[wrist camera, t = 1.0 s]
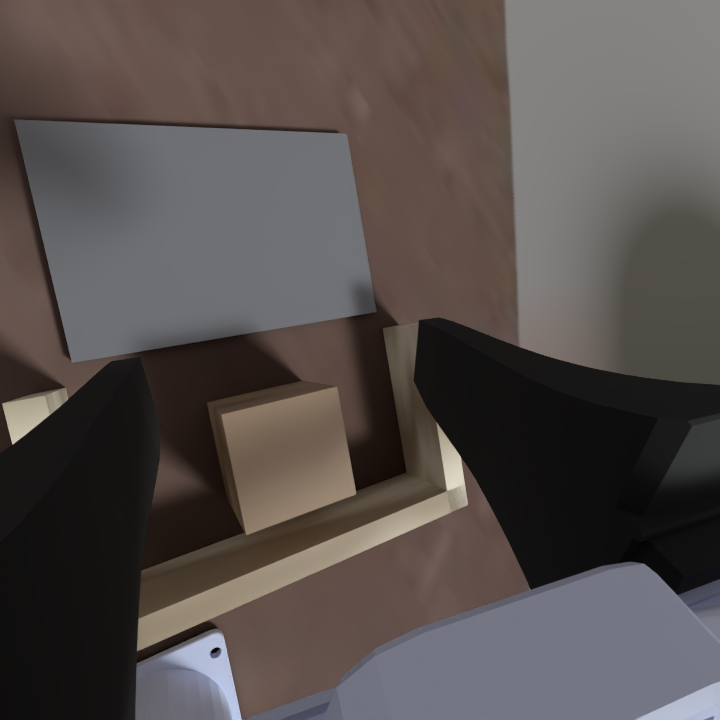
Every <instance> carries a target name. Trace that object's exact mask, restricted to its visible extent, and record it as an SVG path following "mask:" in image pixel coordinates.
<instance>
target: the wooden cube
mask: <svg viewBox="0 0 720 720" xmlns="http://www.w3.org/2000/svg"><path fill="white" fill-rule="evenodd" d="M207 406H208V411H209V416H210V421H211V425H212V430H213V435H214V440H215V445H216V449H217V454H218V459H219V464H220V468H221V473H222V478H223V483H224V488H225V492H226V497H227V500H228V502H229V504H230V506H231V507H232V509H233V511H234V513H235V515H236V517H237V519H238V521H239V523H240V525H241V526H242V528H243V530H244V532H245V534H246V535H248V534H251V533H254V532H257V531H259V530H262V529H265V528H267V527H270V526H273V525H275V524H278V523H281V522H283V521H286V520H289V519H291V518H294V517H297V516H299V515H302V514H305V513H307V512H310V511H313V510H316V509H318V508H321V507H324V506H326V505H329V504H332V503H334V502H337V501H340V500H342V499H345V498H348V497H350V496H353V495H356V489H355V484H354V478H353V472H352V467H351V461H350V456H349V450H348V445H347V439H346V433H345V428H344V422H343V417H342V411H341V405H340V400H339V394H338V389H337V386H331V385H325V384H319V383H313V382H307V381H298V382H294V383H289V384H285V385H281V386H276V387H272V388H267V389H263V390H259V391H254V392H250V393H245V394H241V395H237V396H232V397H228V398H224V399H219V400H215V401H210V402H207Z"/></svg>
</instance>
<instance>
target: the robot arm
mask: <svg viewBox="0 0 720 720" xmlns="http://www.w3.org/2000/svg"><path fill="white" fill-rule="evenodd" d="M413 381H414V383H415V385H416V387H417V389H418V391H419V394H420V396H421V398H422V400H423V402H424V403H425V405H426V407H427V409H428V410H429V412H430V413H431V415H432V416H433V418H434V419H435V421H436V422H437V424H438V425H439V427H440V428H441V429H442V431H443V432H444V434H445V435H446V437H447V438H448V439H449V441H450V442H451V444H452V445H453V446H454V448H455V449H456V451H457V452H458V453H459V455H460V456H461V458H462V459H463V461H464V462H465V463H466V465H467V466H468V468H469V469H470V471H471V473H472V474H473V476H474V477H475V479H476V481H477V482H478V484H479V486H480V488H481V490H482V492H483V493H484V495H485V497H486V499H487V501H488V502H489V504H490V506H491V508H492V510H493V512H494V514H495V516H496V518H497V520H498V522H499V524H500V526H501V527H502V529H503V531H504V533H505V535H506V537H507V539H508V541H509V543H510V546H511V548H512V550H513V552H514V554H515V556H516V558H517V560H518V563H519V565H520V567H521V569H522V571H523V573H524V575H525V577H526V580H527V582H528V584H529V587H530V589H531V590H529V591H526V592H523V593H520V594H517V595H514V596H511V597H508V598H505V599H502V600H499V601H496V602H493V603H490V604H487V605H484V606H481V607H478V608H475V609H472V610H469V611H466V612H463V613H460V614H457V615H454V616H451V617H448V618H445V619H442V620H439V621H436V622H434V623H431V624H428V625H425V626H422V627H419V628H417V629H415V630H413V631H410V632H408V633H406V634H404V635H402V636H400V637H398V638H396V639H394V640H392V641H389V642H387V643H385V644H383V645H381V646H379V647H377V648H375V649H374V650H373V651H371V652H370V653H369V654H368V655H367V656H365V657H364V658H363V659H362V660H361V661H359V662H358V663H357V664H356V665H355V666H353V667H352V668H351V669H350V670H349V671H347V672H346V673H345V674H344V675H343V676H342V678H341V680H340V682H339V684H338V686H336V687H333V688H330V689H327V690H325V691H322V692H319V693H316V694H313V695H310V696H308V697H305V698H302V699H299V700H296V701H294V702H291V703H288V704H285V705H282V706H279V707H277V708H274V709H271V710H268V711H265V712H262V713H260V714H257V715H254V716H251V717H248V718H246V719H243V720H720V385H712V384H698V383H684V382H675V381H667V380H659V379H650V378H643V377H636V376H631V375H624V374H619V373H614V372H608V371H603V370H598V369H593V368H589V367H585V366H580V365H577V364H573V363H569V362H565V361H562V360H557V359H554V358H551V357H547V356H544V355H541V354H538V353H535V352H532V351H529V350H526V349H523V348H520V347H517V346H515V345H512V344H509V343H507V342H504V341H501V340H499V339H496V338H494V337H491V336H489V335H486V334H484V333H481V332H479V331H476V330H474V329H471V328H469V327H466V326H463V325H461V324H458V323H455V322H453V321H450V320H446V319H443V318H432V319H425V320H419V326H418V337H417V348H416V358H415V369H414V380H413ZM160 425H161V424H160V421H159V418H158V414H157V411H156V408H155V405H154V401H153V398H152V395H151V392H150V388H149V385H148V382H147V379H146V375H145V372H144V369H143V366H142V362H141V359H140V357H139V358H132V359H124V360H117V361H111V362H110V363H109V364H107V365H106V366H105V367H104V368H102V369H101V370H100V371H99V372H98V373H97V374H96V375H95V376H93V377H92V378H91V379H90V380H89V381H88V382H87V383H86V384H85V385H84V386H83V387H81V388H80V389H79V390H78V391H77V392H76V393H75V394H74V395H72V396H71V397H70V398H69V399H68V400H67V401H66V402H65V403H63V404H62V405H61V406H60V407H59V408H58V409H57V410H55V411H54V412H53V413H52V414H50V415H49V416H48V417H47V418H46V419H44V420H43V421H42V422H41V423H39V424H38V425H37V426H36V427H34V428H33V429H32V430H31V431H29V432H28V433H27V434H26V435H25V436H23V437H22V438H21V439H19V440H18V441H17V442H15V443H14V444H13V445H11V446H10V447H9V448H7V449H6V450H4V451H3V452H2V453H0V720H242V719H241V714H240V710H239V705H238V700H237V696H236V691H235V687H234V682H233V677H232V673H231V668H230V663H229V659H228V654H227V650H226V645H225V640H224V636H223V633H222V631H221V630H219V629H212V630H209V631H207V632H205V633H202V634H200V635H198V636H196V637H194V638H191V639H189V640H187V641H185V642H183V643H180V644H178V645H176V646H174V647H172V648H169V649H167V650H165V651H163V652H161V653H158V654H156V655H154V656H152V657H150V658H147V659H145V660H143V661H141V662H139V663H137V641H138V620H139V600H140V585H141V570H142V558H143V551H144V543H145V537H146V532H147V526H148V521H149V516H150V510H151V505H152V499H153V494H154V488H155V483H156V477H157V471H158V466H159V460H160ZM216 647H219V648H220V649H219V650H218V651H217V652H216V653H210V652H211V650H212V649H214V648H216Z"/></svg>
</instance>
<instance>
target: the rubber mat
mask: <svg viewBox="0 0 720 720" xmlns="http://www.w3.org/2000/svg"><path fill="white" fill-rule="evenodd" d="M14 121H15V125H16V130H17V134H18V138H19V142H20V146H21V151H22V155H23V159H24V163H25V168H26V172H27V176H28V180H29V184H30V189H31V193H32V197H33V201H34V205H35V210H36V214H37V218H38V222H39V226H40V231H41V235H42V239H43V243H44V248H45V252H46V256H47V260H48V264H49V269H50V273H51V277H52V281H53V285H54V290H55V294H56V298H57V302H58V306H59V311H60V315H61V319H62V323H63V328H64V332H65V336H66V340H67V344H68V349H69V353H70V357H71V361H72V363H75V362H81V361H87V360H93V359H99V358H105V357H111V356H117V355H123V354H129V353H135V352H141V351H147V350H153V349H159V348H165V347H171V346H177V345H183V344H189V343H195V342H201V341H207V340H213V339H219V338H225V337H231V336H237V335H243V334H249V333H255V332H261V331H267V330H273V329H279V328H284V327H290V326H296V325H302V324H308V323H314V322H320V321H326V320H332V319H338V318H344V317H350V316H356V315H362V314H368V313H374V312H376V306H375V300H374V294H373V288H372V282H371V276H370V270H369V264H368V258H367V252H366V246H365V240H364V234H363V228H362V222H361V216H360V210H359V204H358V198H357V192H356V186H355V180H354V174H353V168H352V162H351V156H350V150H349V144H348V138H347V134H341V133H318V132H294V131H271V130H248V129H224V128H201V127H177V126H154V125H131V124H107V123H84V122H61V121H37V120H14Z"/></svg>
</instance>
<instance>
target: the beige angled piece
mask: <svg viewBox="0 0 720 720" xmlns="http://www.w3.org/2000/svg"><path fill="white" fill-rule="evenodd" d="M418 326H419V323H412V324H404V325H397V326H392V327H386V328H383V334H384V340H385V346H386V352H387V358H388V364H389V370H390V376H391V382H392V388H393V394H394V400H395V406H396V412H397V418H398V424H399V430H400V436H401V442H402V448H403V454H404V460H405V466H406V473H404V474H401V475H398V476H396V477H393V478H390V479H388V480H385V481H382V482H379V483H377V484H374V485H371V486H369V487H366V488H363V489H361V490H358V491H356V495H353V496H350V497H348V498H345V499H342V500H340V501H337V502H334V503H332V504H329V505H326V506H324V507H321V508H318V509H316V510H313V511H310V512H307V513H305V514H302V515H299V516H297V517H294V518H291V519H289V520H286V521H283V522H281V523H278V524H275V525H273V526H270V527H267V528H265V529H262V530H259V531H257V532H254V533H251V534H248V535H246V534H245V532H244V533H242V534H239V535H236V536H234V537H231V538H228V539H225V540H223V541H220V542H217V543H215V544H212V545H209V546H207V547H204V548H201V549H198V550H196V551H193V552H190V553H188V554H185V555H182V556H180V557H177V558H174V559H171V560H169V561H166V562H163V563H161V564H158V565H155V566H153V567H150V568H147V569H144V570H142V571H141V585H140V600H139V620H138V641H137V651H139V650H142V649H144V648H146V647H148V646H151V645H153V644H155V643H157V642H160V641H162V640H164V639H166V638H169V637H171V636H173V635H175V634H178V633H180V632H182V631H184V630H187V629H189V628H191V627H193V626H196V625H198V624H200V623H202V622H205V621H207V620H209V619H211V618H214V617H216V616H218V615H220V614H223V613H225V612H227V611H230V610H232V609H234V608H236V607H239V606H241V605H243V604H245V603H248V602H250V601H252V600H254V599H257V598H259V597H261V596H263V595H266V594H268V593H270V592H272V591H275V590H277V589H279V588H281V587H284V586H286V585H288V584H290V583H293V582H295V581H297V580H299V579H302V578H304V577H306V576H308V575H311V574H313V573H315V572H317V571H320V570H322V569H324V568H327V567H329V566H331V565H333V564H336V563H338V562H340V561H342V560H345V559H347V558H349V557H351V556H354V555H356V554H358V553H360V552H363V551H365V550H367V549H369V548H372V547H374V546H376V545H378V544H381V543H383V542H385V541H387V540H390V539H392V538H394V537H396V536H399V535H401V534H403V533H405V532H408V531H410V530H412V529H415V528H417V527H419V526H421V525H424V524H426V523H428V522H430V521H433V520H435V519H437V518H439V517H442V516H444V515H446V514H448V513H451V512H453V511H455V510H457V509H460V508H462V507H464V506H466V505H468V502H467V496H466V489H465V483H464V476H463V470H462V463H461V456H460V455H459V453H458V452H457V451H456V449H455V448H454V446H453V445H452V444H451V442H450V441H449V439H448V438H447V437H446V435H445V434H444V432H443V431H442V429H441V428H440V427H439V425H438V424H437V422H436V421H435V419H434V418H433V416H432V415H431V413H430V412H429V410H428V409H427V407H426V405H425V403H424V402H423V400H422V398H421V396H420V394H419V391H418V389H417V387H416V385H415V383H414V381H413V380H414V369H415V358H416V348H417V337H418ZM67 400H68V395H67V391H66V388H61V389H55V390H50V391H45V392H39V393H34V394H30V395H27V396H24V397H21V398H18V399H15V400H12V401H9V402H5V403H2V405H3V409H4V413H5V417H6V421H7V425H8V429H9V433H10V437H11V441H12V445H13V444H14V443H15V442H17V441H18V440H19V439H21V438H22V437H23V436H25V435H26V434H27V433H28V432H29V431H31V430H32V429H33V428H34V427H36V426H37V425H38V424H39V423H41V422H42V421H43V420H44V419H46V418H47V417H48V416H49V415H50V414H52V413H53V412H54V411H55V410H57V409H58V408H59V407H60V406H61V405H62V404H63V403H65V402H66V401H67Z"/></svg>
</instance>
